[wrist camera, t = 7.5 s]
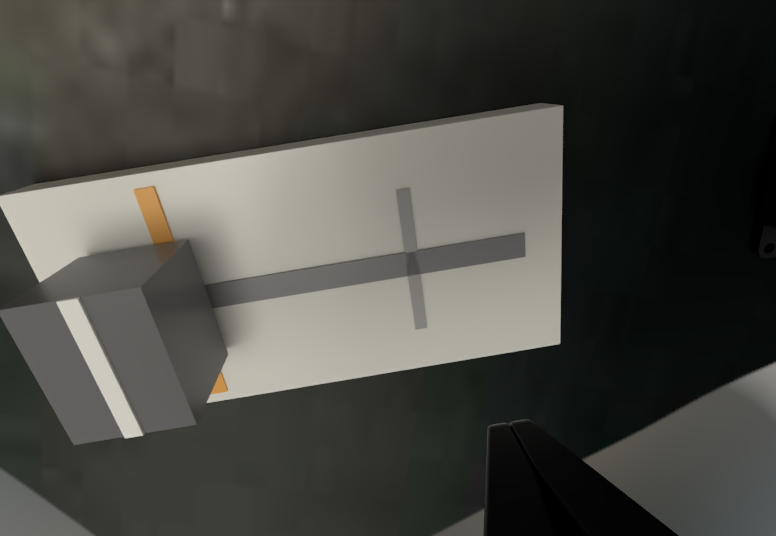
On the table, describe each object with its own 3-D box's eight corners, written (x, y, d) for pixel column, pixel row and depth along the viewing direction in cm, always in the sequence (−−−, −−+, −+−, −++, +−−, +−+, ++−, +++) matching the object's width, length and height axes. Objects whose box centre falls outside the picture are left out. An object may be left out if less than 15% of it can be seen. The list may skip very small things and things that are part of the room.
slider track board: (540, 102, 17) (564, 105, 15) (542, 321, 21) (561, 345, 19) (34, 184, 17) (-7, 197, 15) (130, 389, 21) (108, 421, 19)
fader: (188, 239, 16) (138, 288, 12) (228, 354, 18) (195, 426, 14) (78, 257, 16) (-6, 312, 12) (130, 370, 18) (71, 447, 14)
